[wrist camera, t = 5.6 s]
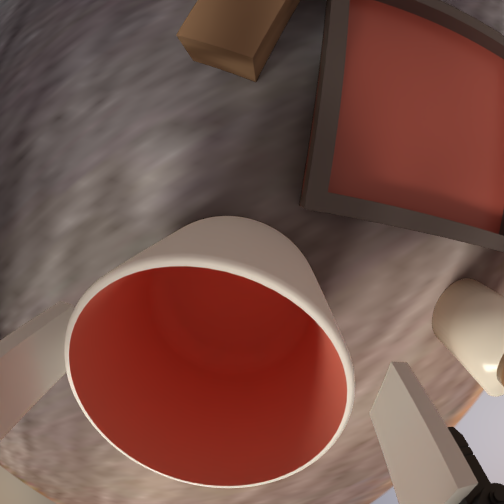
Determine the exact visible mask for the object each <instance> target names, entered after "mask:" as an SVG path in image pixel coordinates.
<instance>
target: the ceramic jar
mask: <svg viewBox="0 0 504 504" xmlns="http://www.w3.org/2000/svg"><path fill="white" fill-rule="evenodd" d="M432 328H433V331H434V334H435V336H436V337H437V338H438V339H439V340H440V341H441V342H442V343H443V345H444V346H445V347H446V348H447V349H448V350H449V351H450V352H451V353H452V354H453V355H454V356H455V357H456V359H457V360H458V361H459V362H460V363H461V364H462V365H463V366H464V367H465V368H466V370H467V371H468V372H469V373H470V374H471V375H472V376H473V377H474V379H475V380H476V381H477V382H478V383H479V384H480V385H481V386H482V388H483V389H484V390H485V391H486V392H487V393H488V394H489V395H491V396H501V395H504V297H503V296H502V295H500V294H498V293H497V292H495V291H493V290H492V289H490V288H488V287H486V286H485V285H483V284H481V283H480V282H478V281H476V280H474V279H471V278H465V279H460V280H458V281H456V282H454V283H453V284H451V285H450V286H449V287H448V288H447V289H446V290H445V291H444V292H443V293H442V295H441V296H440V298H439V299H438V301H437V303H436V306H435V308H434V312H433V316H432Z"/></svg>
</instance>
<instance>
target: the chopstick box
mask: <svg viewBox="0 0 504 504" xmlns="http://www.w3.org/2000/svg"><path fill="white" fill-rule="evenodd" d="M299 2H300V0H198V1H197V2H196V4H195V5H194V7H193V9H192V10H191V12H190V13H189V15H188V16H187V18H186V20H185V21H184V23H183V25H182V26H181V28H180V30H179V31H178V33H177V35H176V36H177V37H178V39H179V40H180V41H181V43H182V44H183V46H184V47H185V49H186V50H187V52H188V53H189V55H190V56H191V58H192V59H193V61H196V62H199V63H203V64H206V65H209V66H212V67H215V68H218V69H221V70H224V71H227V72H230V73H233V74H235V75H238V76H241V77H244V78H246V79H249V80H252V81H254V82H256V81H257V79H258V77H259V75H260V73H261V71H262V69H263V67H264V65H265V64H266V62H267V60H268V58H269V56H270V54H271V52H272V50H273V48H274V47H275V45H276V43H277V41H278V39H279V37H280V35H281V34H282V32H283V30H284V28H285V26H286V25H287V23H288V21H289V19H290V18H291V16H292V14H293V12H294V11H295V9H296V7H297V5H298V4H299Z"/></svg>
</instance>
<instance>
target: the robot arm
mask: <svg viewBox="0 0 504 504" xmlns="http://www.w3.org/2000/svg"><path fill="white" fill-rule="evenodd" d="M73 311H74V305H71V304H68V303H64V302H61V301H60V302H58V303H56V304H55V305H53V306H52V307H50V308H49V309H47V310H45V311H44V312H42V313H41V314H39V315H38V316H36V317H35V318H33V319H31V320H30V321H28V322H27V323H25V324H24V325H22V326H21V327H19V328H18V329H16V330H15V331H13V332H12V333H10V334H9V335H7V336H6V337H4V338H3V339H2V340H0V441H1V440H2V439H3V438H4V437H5V436H6V434H7V433H8V432H9V431H10V430H11V429H12V428H13V427H14V426H15V425H16V424H17V423H18V422H19V420H20V419H21V418H22V417H23V416H24V415H25V414H26V413H27V412H28V411H29V410H30V409H31V408H32V407H33V406H34V405H35V404H36V403H37V402H38V400H39V399H40V398H41V397H42V396H43V395H44V394H45V393H46V392H47V391H48V390H49V389H50V388H51V387H52V386H53V385H54V384H55V383H56V382H57V381H58V380H59V379H60V378H61V377H62V376H63V375H64V374H65V373H66V372H67V371H66V367H65V358H64V342H65V335H66V329H67V326H68V323H69V319H70V317H71V315H72V313H73ZM369 414H370V417H371V419H372V422H373V425H374V428H375V431H376V434H377V437H378V440H379V443H380V446H381V449H382V452H383V455H384V458H385V461H386V464H387V467H388V470H389V473H390V476H391V480H392V483H393V486H394V489H395V492H396V496H397V499H398V502H399V504H504V485H502V484H498V483H492V484H491V483H490V482H489V480H488V478H487V476H486V474H485V473H484V471H483V469H482V467H481V466H480V464H479V462H478V460H477V459H476V457H475V455H473V452H472V450H471V448H470V447H468V443H467V442H466V440H465V438H464V437H463V435H462V434H460V433H459V432H458V431H457V430H456V429H455V428H454V427H447V426H446V424H445V422H444V421H443V419H442V417H441V416H440V414H439V412H438V411H437V409H436V407H435V406H434V404H433V403H432V401H431V399H430V398H429V396H428V394H427V393H426V391H425V390H424V388H423V386H422V385H421V383H420V382H419V380H418V379H417V377H416V375H415V374H414V372H413V371H412V369H411V368H410V366H409V365H408V363H407V362H391V363H390V366H389V368H388V371H387V373H386V376H385V378H384V381H383V383H382V385H381V388H380V390H379V392H378V395H377V397H376V399H375V401H374V404H373V406H372V408H371V410H370V412H369Z"/></svg>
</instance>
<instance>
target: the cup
mask: <svg viewBox="0 0 504 504" xmlns="http://www.w3.org/2000/svg"><path fill="white" fill-rule="evenodd" d="M64 358H65V367H66V371H67V376H68V380H69V383H70V386H71V389H72V391H73V394H74V396H75V398H76V400H77V402H78V404H79V406H80V407H81V409H82V411H83V412H84V414H85V415H86V417H87V418H88V420H89V421H90V422H91V424H92V425H93V426H94V427H95V428H96V430H97V431H98V432H99V433H100V434H101V435H102V436H103V437H104V438H105V439H106V440H107V441H108V442H109V443H110V444H111V445H112V446H114V447H115V448H116V449H117V450H119V451H120V452H121V453H123V454H124V455H125V456H127V457H128V458H130V459H131V460H133V461H135V462H136V463H138V464H140V465H141V466H143V467H145V468H147V469H149V470H151V471H153V472H156V473H158V474H160V475H163V476H165V477H168V478H171V479H174V480H177V481H181V482H184V483H189V484H193V485H199V486H205V487H215V488H241V487H251V486H257V485H262V484H267V483H270V482H274V481H277V480H280V479H283V478H286V477H288V476H290V475H293V474H295V473H297V472H299V471H301V470H302V469H304V468H306V467H307V466H309V465H310V464H312V463H313V462H315V461H316V460H317V459H319V458H320V457H321V456H322V455H323V454H325V453H326V452H327V451H328V449H329V448H330V447H331V446H332V445H333V444H334V443H335V442H336V440H337V439H338V438H339V436H340V435H341V433H342V431H343V430H344V428H345V426H346V424H347V422H348V419H349V417H350V414H351V412H352V407H353V403H354V398H355V375H354V368H353V364H352V359H351V356H350V353H349V351H348V348H347V346H346V343H345V341H344V339H343V337H342V334H341V332H340V330H339V328H338V325H337V323H336V321H335V319H334V316H333V314H332V312H331V310H330V308H329V305H328V303H327V301H326V299H325V297H324V294H323V292H322V290H321V288H320V286H319V284H318V282H317V279H316V277H315V275H314V273H313V271H312V269H311V267H310V265H309V263H308V261H307V260H306V258H305V257H304V255H303V254H302V252H301V251H300V250H299V249H298V248H297V246H296V245H295V244H294V243H293V242H292V241H291V240H290V239H288V238H287V237H286V236H284V235H283V234H282V233H280V232H279V231H277V230H276V229H274V228H272V227H270V226H268V225H266V224H264V223H261V222H259V221H256V220H252V219H249V218H244V217H237V216H217V217H210V218H205V219H202V220H198V221H196V222H193V223H191V224H188V225H186V226H184V227H183V228H181V229H179V230H177V231H176V232H174V233H172V234H171V235H169V236H167V237H165V238H164V239H162V240H160V241H159V242H157V243H155V244H154V245H152V246H150V247H149V248H147V249H145V250H144V251H142V252H140V253H139V254H137V255H135V256H134V257H132V258H131V259H129V260H127V261H126V262H124V263H122V264H121V265H119V266H118V267H116V268H114V269H113V270H111V271H110V272H108V273H107V274H105V275H104V276H102V277H101V278H100V279H98V280H97V281H96V282H95V283H94V284H93V285H91V286H90V288H89V289H88V290H87V291H86V292H85V293H84V294H83V296H82V297H81V298H80V300H79V301H78V303H77V305H76V307H75V309H74V311H73V313H72V315H71V317H70V319H69V323H68V326H67V329H66V335H65V342H64Z"/></svg>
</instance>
